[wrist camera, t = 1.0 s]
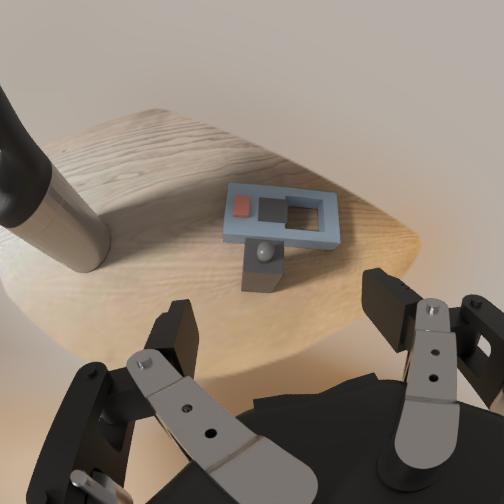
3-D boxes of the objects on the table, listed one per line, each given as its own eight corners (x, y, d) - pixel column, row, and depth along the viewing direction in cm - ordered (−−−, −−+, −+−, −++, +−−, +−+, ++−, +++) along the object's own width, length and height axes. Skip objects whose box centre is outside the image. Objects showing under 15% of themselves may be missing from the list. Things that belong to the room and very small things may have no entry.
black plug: (241, 291, 36) (243, 266, 25) (243, 265, 38) (246, 230, 26) (271, 293, 37) (286, 269, 25) (272, 267, 38) (287, 233, 26)
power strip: (223, 241, 39) (222, 231, 35) (228, 193, 41) (228, 179, 38) (333, 250, 39) (342, 240, 35) (330, 202, 42) (338, 190, 38)
